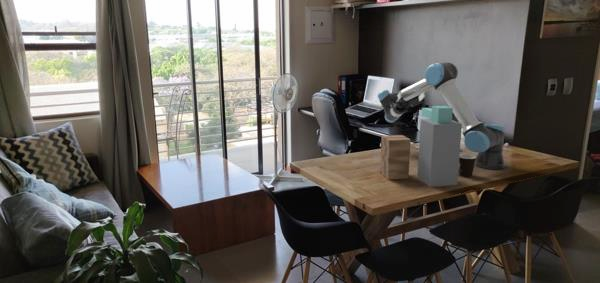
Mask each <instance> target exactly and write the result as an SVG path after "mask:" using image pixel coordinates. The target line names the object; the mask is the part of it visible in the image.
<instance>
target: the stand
mask: <svg viewBox="0 0 600 283" xmlns="http://www.w3.org/2000/svg"><path fill="white" fill-rule="evenodd" d="M462 130H463V128H462V123H459V121H456V120H453V119H452V123H436V122H433V121H431V119H429V118H425V119H423V118H422V119H420V126H419V144H418V145H419V149H418V159H417V160H418V162H417V179H418V180H420V181H421V182H422V183H423V184H426V185H427V187H429V188H432V187H434V188H435V187H447V186H448V187H449V186H457V185H458V180H459V178H458V177H459V155H461V152H460V151H461V139H462Z"/></svg>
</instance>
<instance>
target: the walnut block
mask: <svg viewBox="0 0 600 283" xmlns="http://www.w3.org/2000/svg"><path fill="white" fill-rule="evenodd" d="M380 140H381V143H380V144H381V147H380V166H379V167H380V168H379V169H380V171H379V172H380V173H379V174H380V175H381V176H383V177H384V178H386V179H387V180H398V179H399V180H400V179H401V180H402V179H409V178H410V177H409V176H410V158H411V157H410V156H411V138H409V137H406V136H405V135H403V134H394V135H389V134H388V135H381V139H380Z"/></svg>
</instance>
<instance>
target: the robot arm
mask: <svg viewBox="0 0 600 283" xmlns="http://www.w3.org/2000/svg"><path fill="white" fill-rule="evenodd" d="M458 74H459V71H458V68H457V66H456V65H455V64H453V63H451V62H436V63H431V64H430V65H429V66H428V67H427V68H426V69H425V71H424V78H422V79H421V80H419V81H417V82H414V83H413V84H410V85H409V86H406V87H405V88H403V89H401V90H399V91H396V92H390V91H389V90H388V89H384V90H382V91H380V92H378V94H377V98H378V101H379V102H380V105H381V106H382V108H383V110H384V111H383V112H384V119H385V121H386V122H388V123H394V122H396V121H397V120H399V119H400V117H401V116H402V115H403V114H404V113H405V112H407V109H408V108H409V107H411V108H414V107H416V106H418V105H420V104H423V103H425V97H426V92H428V91H431V90H432V89H434V90H435V91H436V92H437V93H440V94H441V95H442V97H443V99H444V100H445V102H446V104H447V106H448V107H451V108H453V112H452V114H453V115H454V116H455V119H456V120H457V122H459V123H462V135H463V137H464V138H463V142H464V146H465V147H466V149H467V150H468V151H470V152H472V153H476V154H477V156H475V157H476V160H475V165H474V166H475V167H476V166H477V167H479V168H482V169H487V170H503V169H505V166H506V162H505V159H504V154H503V151H504V150H503V149H504V142H505V141H504V140H505V133H506V132H505V126H503V125H501V124H493V123H492V124H491V123H484V122H483V121H479V120H478V118H477V116H476V115H475V113H474V112H473V111H472V109H471V107H470V105H469V104H468V102H467V101H466V99H465V97H464V96H463V94H462V92H460V90H459V88H458V86H457V85H456V79H457V78H458Z"/></svg>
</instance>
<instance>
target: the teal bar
mask: <svg viewBox="0 0 600 283" xmlns="http://www.w3.org/2000/svg"><path fill="white" fill-rule="evenodd" d="M421 117H423V118H425V119H431V121H433V122H436V123H452V120H453V108H451V107H449V105H434V106H433V105H432V106H431V107H422V108H421Z"/></svg>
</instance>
